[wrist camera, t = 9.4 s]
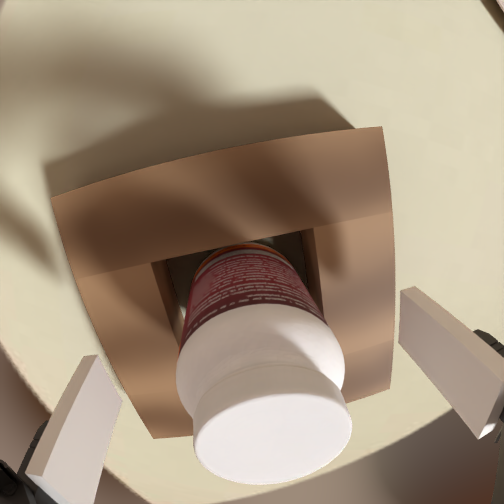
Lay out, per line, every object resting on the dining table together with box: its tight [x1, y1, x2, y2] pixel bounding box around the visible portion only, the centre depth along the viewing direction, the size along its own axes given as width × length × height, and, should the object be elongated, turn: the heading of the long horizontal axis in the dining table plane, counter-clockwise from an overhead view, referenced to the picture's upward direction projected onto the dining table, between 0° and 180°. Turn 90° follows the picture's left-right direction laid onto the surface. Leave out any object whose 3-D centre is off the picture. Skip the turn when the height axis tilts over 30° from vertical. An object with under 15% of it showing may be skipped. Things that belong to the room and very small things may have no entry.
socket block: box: [51, 126, 395, 439], centre depth 17 cm, size 16×16×3 cm
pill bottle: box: [176, 242, 352, 485], centre depth 13 cm, size 6×6×11 cm
